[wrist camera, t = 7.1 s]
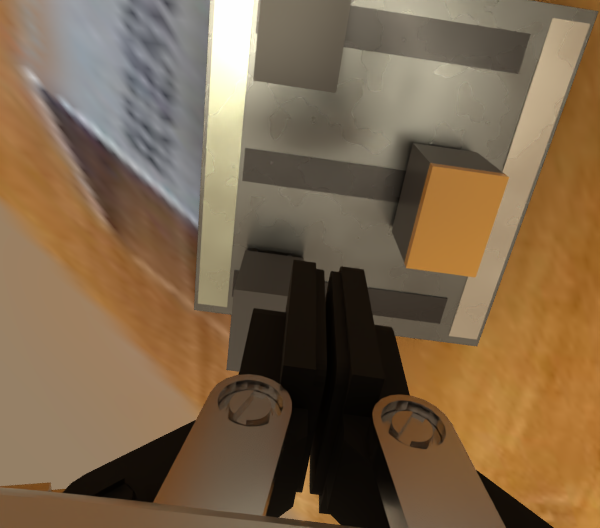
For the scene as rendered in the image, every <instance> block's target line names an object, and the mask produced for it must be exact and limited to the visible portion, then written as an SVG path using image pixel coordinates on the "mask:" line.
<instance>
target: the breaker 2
mask: <svg viewBox="0 0 600 528" xmlns="http://www.w3.org/2000/svg"><path fill="white" fill-rule="evenodd" d="M293 260H301V261H304V258H299V257H292V256H284V255H277V254H270V253H262V252H255V251H247V250H245V253H244V256H243V260H242V263H241V267H240V270H239V274H238V277H237V281H236V284H235V287H234V294H233V305H232V316H231V327H230V338H229V349H228V360H227V370H231V371H240V367H241V362H242V357H243V353H244V348H245V344H246V339H247V335H248V330H249V326H250V321H251V317H252V312H253V309H254V308H258V309H266V310H273V311H280V312H285V311H286V305H287V298H288V291H289V285H290V278H291V272H292V265H293Z"/></svg>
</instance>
